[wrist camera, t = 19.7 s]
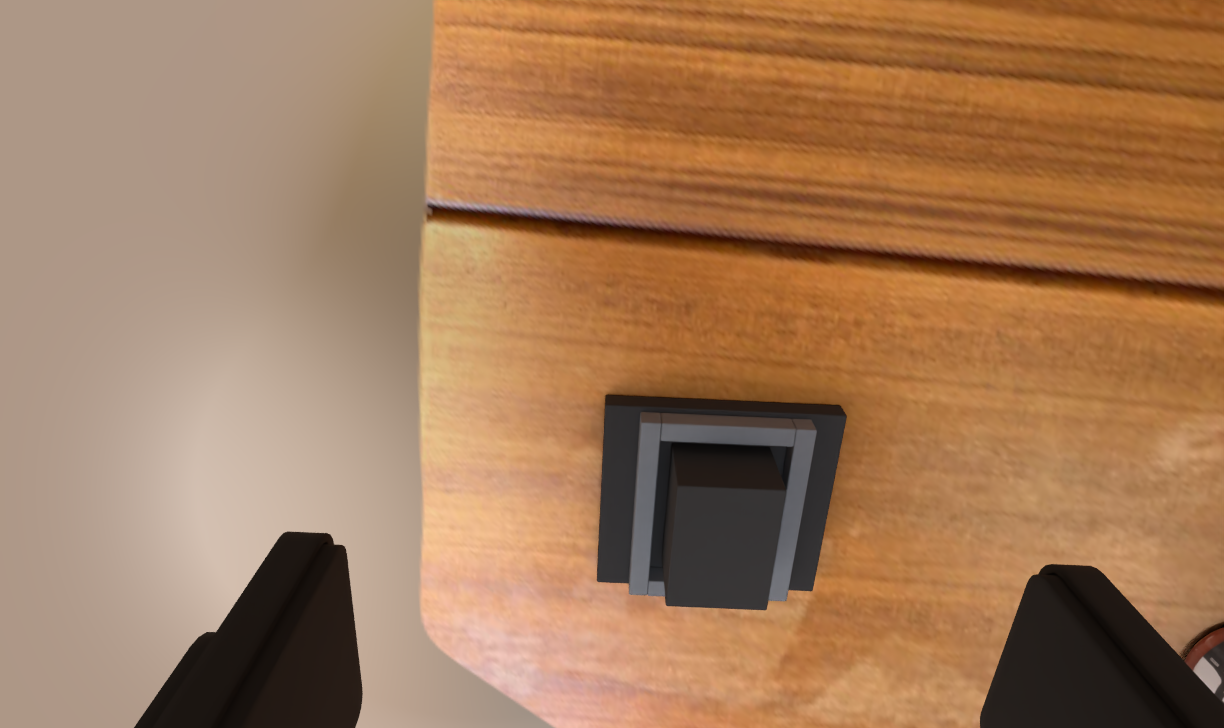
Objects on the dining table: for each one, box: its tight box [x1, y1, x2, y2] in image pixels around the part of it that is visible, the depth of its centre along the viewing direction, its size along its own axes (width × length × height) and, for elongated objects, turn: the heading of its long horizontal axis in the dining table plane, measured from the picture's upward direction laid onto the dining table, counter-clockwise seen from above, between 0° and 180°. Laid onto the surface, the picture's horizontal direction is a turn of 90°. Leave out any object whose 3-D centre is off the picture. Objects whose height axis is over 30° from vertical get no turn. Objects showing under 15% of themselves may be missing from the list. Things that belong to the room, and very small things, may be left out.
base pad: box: [597, 395, 847, 601], centre depth 38 cm, size 12×11×2 cm
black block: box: [662, 443, 786, 610], centre depth 36 cm, size 5×7×4 cm
